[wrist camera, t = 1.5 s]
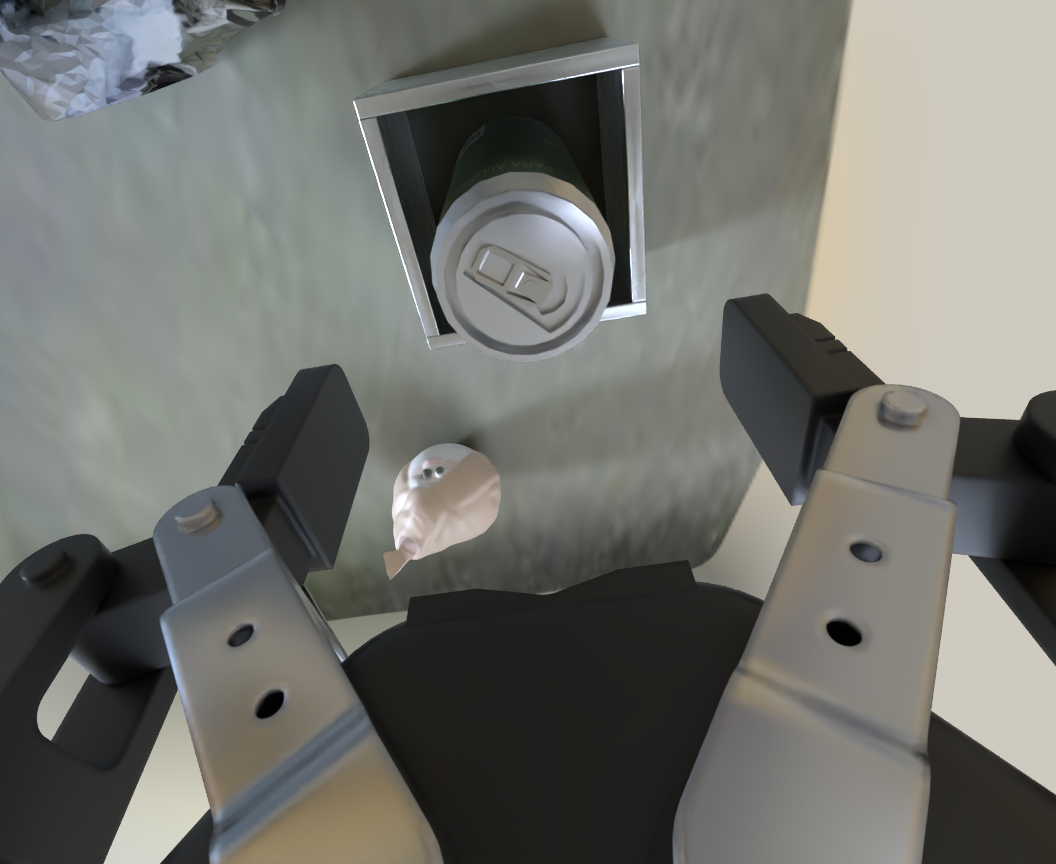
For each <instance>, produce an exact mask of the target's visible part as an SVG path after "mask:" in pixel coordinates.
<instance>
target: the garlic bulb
mask: <svg viewBox="0 0 1056 864" xmlns="http://www.w3.org/2000/svg"><path fill="white" fill-rule="evenodd" d="M393 493H394V501H393V506H392V516H393V521H394V529H393V532H394V538H395V547H396V550H395V551H390V552H386V553H383V555H384V560H385V566H386V571H387V575H389V579H390V580H391V579H392V578H393V577H394V576H395V575H396V574H397V573H398V572H399V571H400V570H401V569H402V568H403V566H404V565H405V564H406V563H407V562H408V561H409V560H410V559H420V558H423V557H425V556H427V555H430V554H433V553H436V552H439V551H442V550H444V549H446V548H447V547H449V546H451V545H453V544H456V543H460V542H463V541H467V540H470V539H472V538H475V537H477V536H478V535H480V534H482V533H484V532H485V531H486V530H487V529H488V528H489V527H490V526H491V524H492V523H493V522H494V521H495V519H496V517H497V514H498V509H499V504H500V498H501V485H500V476H499V472H498V470H497V469H496V468H495V466H494V465H493V464H492V463H491V461H490V460H489V459H488V458H487V457H486V456H485V455H484V454H483V453H481V452H478V451H474V450H473V449H471V448H469V447H466V446H463V445H460V444H454V443H444V444H438V445H434V446H431V447H429V448H427V449H425V450H424V451H422V452H421V453H420V454H418V455H417V456H416V457H415V458H414V459H412V460H411V461H409V462H408V463H407V464H406V465H405V466H404V467H403V468H402V470H401V471H400V473H399V475H398V477H397V479H396V482H395V485H394V489H393Z"/></svg>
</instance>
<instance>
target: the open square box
mask: <svg viewBox="0 0 1056 864" xmlns="http://www.w3.org/2000/svg"><path fill="white" fill-rule="evenodd" d="M638 65H640V44H639V43H637V42H632V41H626V40H621V39H615V38H610V37H605V38H600V39H595V40H590V41H585V42H579V43H574V44H569V45H564V46H559V47H554V48H549V49H544V50H539V51H534V52H529V53H524V54H519V55H514V56H509V57H504V58H499V59H494V60H489V61H484V62H479V63H474V64H469V65H464V66H459V67H454V68H449V69H444V70H439V71H434V72H429V73H424V74H419V75H414V76H409V77H404V78H399V79H394V80H389V81H385V82H383V83H381V84H379V85H378V86H376V87H374V88H372V89H371V90H369V91H367V92H365V93H364V94H362V95H360V96H358V97H357V98H355V99H353V103H354V106H355V110H356V113H357V116H358V118H359V119H360V121H359V123H360V126H361V129H362V132H363V136H364V139H365V142H366V145H367V149H368V152H369V155H370V158H371V161H372V165H373V168H374V171H375V174H376V178H377V181H378V184H379V187H380V190H381V194H382V197H383V200H384V203H385V207H386V210H387V213H388V216H389V219H390V223H391V226H392V229H393V232H394V236H395V239H396V242H397V245H398V248H399V252H400V255H401V258H402V261H403V265H404V268H405V271H406V274H407V277H408V281H409V284H410V287H411V290H412V294H413V297H414V300H415V303H416V306H417V310H418V313H419V316H420V319H421V323H422V326H423V329H424V332H425V335H426V337H427V342H428V345H429V348H430V349H437V348H443V347H449V346H455V345H461V344H467V342H465V341H464V340H463V339H462V338H461V337H460V335H459V334H458V333H457V332H456V331H455V330H454V328H453V327H452V326H451V325H450V324H449V323H448V321H447V319H446V317H445V314H444V312H443V310H442V307H441V305H440V302H439V300H438V298H437V293H436V291H435V289H434V286H433V283H432V270H431V258H430V255H431V251H432V247H433V243H434V239H435V235H436V231H437V228H436V224H435V220H434V216H433V213H432V209H431V205H430V201H429V197H428V193H427V190H426V186H425V182H424V178H423V174H422V170H421V167H420V163H419V159H418V155H417V151H416V147H415V143H414V140H413V136H412V132H411V128H410V124H409V120H408V117H407V113H406V111H409V110H414V109H419V108H424V107H429V106H434V105H440V104H445V103H450V102H455V101H460V100H465V99H470V98H475V97H480V96H486V95H491V94H496V93H501V92H506V91H511V90H516V89H521V88H526V87H532V86H537V85H542V84H547V83H552V82H557V81H562V80H567V79H572V78H577V77H583V76H588V75H593V74H596V79H597V93H598V108H599V122H600V137H601V151H602V166H603V180H604V194H605V209H606V223H607V225H608V227H609V229H610V233H611V238H612V244H613V249H614V254H615V265H614V273H613V280H612V287H611V294H610V300H609V302H608V304H607V306H606V308H605V310H604V312H603V314H602V317H601V319H600V321H605V320H611V319H617V318H623V317H629V316H635V315H641V314H646V313H647V301H646V298H647V297H646V260H645V222H644V185H643V147H642V110H641V73H640V66H638Z"/></svg>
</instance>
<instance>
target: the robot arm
mask: <svg viewBox="0 0 1056 864" xmlns="http://www.w3.org/2000/svg"><path fill="white" fill-rule="evenodd" d="M720 379H721V385H722V389H723V392H724V395H725V397H726V398H727V400H728V402H729V403H730V405H731V407H732V408H733V410H734V412H735V413H736V415H737V417H738V418H739V420H740V422H741V423H742V425H743V427H744V428H745V430H746V432H747V433H748V435H749V437H750V438H751V440H752V442H753V443H754V445H755V447H756V448H757V450H758V451H759V453H760V455H761V456H762V458H763V460H764V461H765V463H766V465H767V466H768V468H769V470H770V471H771V473H772V475H773V476H774V478H775V480H776V481H777V483H778V485H779V486H780V488H781V490H782V491H783V493H784V495H785V496H786V498H787V499H788V501H789V503H790V505H791V506H794V505H802V504H803V505H802V508H801V510H800V513H799V515H798V518H797V520H796V523H795V525H794V528H793V530H792V533H791V535H790V538H789V541H788V543H787V546H786V548H785V550H784V553H783V555H782V558H781V560H780V563H779V566H778V568H777V571H776V573H775V576H774V578H773V581H772V583H771V586H770V588H769V591H768V593H767V596H766V598H765V601H763V600H761V599H759V598H757V597H754V596H752V595H749V594H747V593H745V592H742V591H739V590H735V589H732V588H729V587H725V586H721V585H716V584H711V583H704V582H695V579H694V576H693V573H692V570H691V567H690V564H689V562H688V560H684V561H677V562H670V563H662V564H655V565H647V566H640V567H633V568H625V569H618V570H615V571H613V572H610V573H607V574H604V575H602V576H599V577H596V578H594V579H591V580H588V581H586V582H583V583H580V584H577V585H575V586H572V587H569V588H567V589H564V590H561V591H559V592H556V593H553V594H548V595H538V594H528V593H517V592H507V591H496V590H485V589H471V590H463V591H456V592H449V593H441V594H434V595H426V596H419V597H412V598H410V602H409V608H408V614H407V621H404V622H402V623H400V624H397V625H395V626H393V627H391V628H389V629H387V630H385V631H383V632H382V633H380V634H378V635H377V636H375V637H374V638H372V639H370V640H369V641H367V642H366V643H365V644H363V645H362V646H361V647H360V648H358V649H357V650H356V651H354V652H353V653H352V654H351V655H350V656H349V657H348V655H347V654H346V652H345V651H344V649H343V647H342V646H341V644H340V642H339V641H338V639H337V637H336V636H335V634H334V632H333V631H332V629H331V628H330V626H329V624H328V622H327V621H326V619H325V617H324V616H323V614H322V613H321V611H320V609H319V608H318V606H317V604H316V603H315V601H314V599H313V598H312V596H311V594H310V593H309V591H308V590H307V588H306V587H305V585H304V581H305V578H306V576H307V573H308V572H313V571H320V570H327V569H333V566H334V563H335V559H336V556H337V553H338V550H339V546H340V543H341V540H342V536H343V533H344V530H345V527H346V523H347V520H348V517H349V514H350V510H351V507H352V504H353V500H354V497H355V494H356V491H357V487H358V484H359V481H360V478H361V474H362V471H363V468H364V465H365V461H366V458H367V455H368V451H369V433H368V428H367V425H366V422H365V420H364V417H363V415H362V413H361V410H360V408H359V406H358V403H357V401H356V399H355V397H354V394H353V392H352V390H351V387H350V385H349V383H348V380H347V378H346V376H345V374H344V372H343V370H342V369H341V367H340V366H339V365H337V364H332V365H326V366H320V367H314V368H308V369H302V370H300V371H299V372H298V373H297V375H296V376H295V378H294V380H293V381H292V383H291V385H290V387H289V388H288V390H287V392H286V394H285V395H284V396H280V397H279V398H278V399H277V400H276V401H274V402H273V403H272V404H271V405H270V406H269V407H268V408H266V409H265V410H264V411H263V412H262V413H261V415H260V417H259V418H258V420H257V422H256V423H255V425H254V426H253V428H252V429H253V431H252V432H250V433H249V435H248V436H247V438H246V440H245V441H244V444H245V445H242V446H241V448H240V449H239V451H238V453H237V454H236V456H235V458H234V459H233V461H232V463H231V464H230V466H229V467H228V469H227V471H226V472H225V474H224V476H223V477H222V479H221V481H220V482H219V484H218V485H217V486H215V487H210V488H207V489H204V490H201V491H198V492H196V493H194V494H192V495H190V496H188V497H186V498H185V499H183V500H181V501H180V502H179V503H177V504H176V505H174V506H173V507H172V508H171V509H170V510H168V511H167V512H166V513H165V514H164V515H163V517H162V518H161V519H160V520H159V522H158V523H157V525H156V527H155V529H154V532H153V537H152V538H149V539H147V540H144V541H141V542H139V543H136V544H133V545H131V546H128V547H125V548H122V549H120V550H117V551H114V552H112V553H111V552H110V551H109V550H108V549H107V548H106V547H105V546H104V545H103V544H102V543H101V542H100V540H99V539H98V538H97V537H95V536H93V535H89V534H80V535H74V536H70V537H66V538H63V539H60V540H58V541H56V542H53V543H51V544H49V545H47V546H45V547H43V548H42V549H40V550H38V551H37V552H35V553H33V554H32V555H30V556H29V557H28V558H26V559H25V560H24V561H22V562H21V563H20V564H18V565H17V566H16V567H15V568H14V569H13V570H12V571H11V572H10V573H9V574H8V575H7V576H6V577H5V579H4V580H3V581H2V582H1V583H0V864H103V863H104V861H105V859H106V856H107V854H108V852H109V849H110V847H111V845H112V842H113V840H114V837H115V835H116V833H117V831H118V828H119V826H120V824H121V821H122V819H123V817H124V814H125V812H126V809H127V807H128V805H129V802H130V800H131V798H132V795H133V793H134V790H135V788H136V786H137V784H138V781H139V779H140V777H141V774H142V772H143V770H144V767H145V765H146V763H147V760H148V758H149V756H150V753H151V751H152V749H153V746H154V744H155V742H156V739H157V737H158V735H159V732H160V730H161V728H162V725H163V723H164V720H165V718H166V716H167V714H168V711H169V709H170V706H171V704H172V702H173V700H174V697H175V695H176V692H177V690H179V694H180V698H181V702H182V705H183V709H184V713H185V716H186V720H187V724H188V727H189V731H190V735H191V738H192V742H193V746H194V750H195V753H196V757H197V761H198V764H199V768H200V771H201V775H202V779H203V782H204V786H205V790H206V794H207V797H208V801H209V805H210V809H209V810H208V811H207V812H206V813H205V814H204V816H203V817H202V818H201V819H200V820H199V821H198V822H197V823H196V824H195V825H194V827H193V828H192V829H191V830H190V831H189V832H188V833H187V834H186V836H185V837H184V838H183V839H182V840H181V841H180V842H179V843H178V844H177V845H176V847H175V848H174V849H173V850H172V851H171V852H170V853H169V854H168V855H167V857H166V858H165V859H164V860H163V861H162V862H161V863H160V864H1056V795H1055V794H1054V793H1052V792H1051V791H1049V790H1048V789H1046V788H1045V787H1043V786H1042V785H1041V784H1039V783H1038V782H1036V781H1035V780H1033V779H1032V778H1030V777H1029V776H1027V775H1026V774H1024V773H1023V772H1021V771H1020V770H1018V769H1017V768H1015V767H1014V766H1012V765H1011V764H1009V763H1008V762H1006V761H1005V760H1003V759H1002V758H1000V757H999V756H997V755H996V754H994V753H993V752H992V751H990V750H988V749H987V748H986V747H984V746H983V745H981V744H980V743H978V742H977V741H975V740H974V739H972V738H971V737H969V736H968V735H966V734H965V733H963V732H962V731H960V730H959V729H957V728H956V727H954V726H953V725H951V724H950V723H948V722H947V721H945V720H944V719H942V718H941V717H939V716H938V715H937V714H935V713H934V712H932V711H931V708H932V700H933V692H934V685H935V678H936V670H937V662H938V655H939V648H940V640H941V633H942V625H943V617H944V610H945V603H946V595H947V588H948V580H949V573H950V565H951V558H952V553H954V554H962V555H968V556H969V557H970V558H971V560H972V561H973V562H974V563H975V564H976V566H977V567H978V568H979V570H980V571H981V572H982V573H983V575H984V576H985V577H986V578H987V580H988V581H989V582H990V584H991V585H992V586H993V587H994V589H995V590H996V591H997V592H998V594H999V595H1000V596H1001V597H1002V599H1003V600H1004V601H1005V602H1006V604H1007V605H1008V606H1009V608H1010V609H1011V610H1012V611H1013V613H1014V614H1015V615H1016V616H1017V617H1018V619H1019V620H1020V621H1021V623H1022V624H1023V625H1024V626H1025V628H1026V629H1027V630H1028V631H1029V633H1030V634H1031V635H1032V637H1033V638H1034V639H1035V640H1036V642H1037V643H1038V644H1039V646H1040V647H1041V648H1042V649H1043V651H1044V652H1045V653H1046V654H1047V656H1048V657H1049V658H1050V659H1051V661H1052V662H1053V663H1054V664H1055V666H1056V390H1055V391H1048V392H1044V393H1041V394H1039V395H1037V396H1035V397H1033V398H1032V399H1031V400H1030V401H1029V403H1028V405H1027V407H1026V409H1025V411H1024V413H1023V415H1022V417H1021V419H1020V420H1006V419H985V418H964V417H960V415H959V413H958V411H957V410H956V408H955V407H954V406H953V405H952V404H951V403H950V402H948V401H947V400H946V399H944V398H943V397H940V396H939V395H937V394H934V393H932V392H929V391H927V390H924V389H920V388H916V387H912V386H905V385H895V384H885V383H884V382H883V381H882V380H881V379H879V377H877V376H876V375H875V374H874V373H873V372H872V371H871V370H870V369H869V368H868V367H867V366H866V365H865V364H863V362H861V361H860V360H859V359H858V358H857V357H856V356H855V355H854V354H853V353H852V352H851V351H847V348H846V347H845V346H844V345H843V344H842V343H841V342H840V341H839V340H835V336H834V335H833V334H832V333H830V332H829V331H828V330H827V329H826V328H825V327H824V326H823V325H822V324H821V323H819V322H817V321H814V320H812V319H809V318H807V317H805V316H803V315H800V314H798V313H795V314H788V313H787V312H786V311H785V310H784V309H783V308H782V307H781V306H780V305H779V304H778V303H777V302H776V301H775V300H774V299H773V298H772V297H771V296H770V295H769V294H767V293H766V294H759V295H753V296H747V297H741V298H735V299H729V300H727V302H726V304H725V307H724V312H723V326H722V341H721V356H720ZM68 657H70V658H71V659H72V660H73V661H75V662H76V663H77V664H78V665H80V666H81V667H82V668H84V669H85V670H86V671H87V672H89V673H90V674H89V676H88V678H87V680H86V681H85V683H84V685H83V686H82V688H81V690H80V692H79V693H78V695H77V697H76V699H75V700H74V702H73V704H72V706H71V707H70V709H69V711H68V712H67V714H66V716H65V718H64V720H63V721H62V723H61V725H60V726H59V728H58V730H57V732H56V734H55V735H54V737H53V739H52V740H51V741H50V740H48V739H47V738H45V737H44V736H43V735H42V734H41V732H40V731H39V728H38V724H37V711H38V707H39V704H40V702H41V700H42V698H43V696H44V694H45V693H46V691H47V689H48V688H49V686H50V685H51V683H52V681H53V680H54V678H55V677H56V675H57V674H58V672H59V670H60V669H61V667H62V666H63V664H64V662H65V661H66V659H67V658H68Z"/></svg>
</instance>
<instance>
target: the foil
mask: <svg viewBox="0 0 1056 864" xmlns="http://www.w3.org/2000/svg"><path fill="white" fill-rule="evenodd" d="M277 2H278V10H279V12H276V13H273V12H275V9H276V4H275V3H274V0H0V71H1V72H2V74H3V75H4V76H5V77H6V78H7V79H8V80H9V82H10V83H11V84H12V85H13V86H14V87H15V89H16V90H17V91H18V92H19V93H20V94H21V95H22V97H23V98H24V99H25V100H26V101H27V102H28V104H29V105H30V106H31V107H32V108H33V109H34V110H35V112H36V113H37V114H38V115H39V116H40V117H41V119H44V120H49V121H57V120H61V119H66V118H70V117H74V116H78V115H81V114H84V113H87V112H91V111H94V110H97V109H100V108H103V107H106V106H110V105H113V104H116V103H119V102H122V101H125V100H129V99H132V98H135V97H138V96H141V95H144V94H148V93H150V92H153V91H156V90H158V89H161V88H163V87H166V86H169V85H171V84H174V83H176V82H179V81H182V80H185V79H187V78H189V77H192V76H194V75H196V74H198V73H200V72H202V71H204V70H205V69H207V68H209V67H211V66H213V64H214V61H215V58H216V55H217V54H218V53H219V52H220V51H221V50H222V49H223V48H224V47H225V46H226V45H227V43H228V42H229V41H230V40H231V39H232V38H233V37H234V36H235V35H236V34H237V33H238V32H239V31H240V30H242V29H244V28H247V27H249V26H250V25H252V24H254V23H256V22H257V21H259V20H261V19H263V18H265V17H266V16H268V15H270V14H273V16H274V17H276V16H278V15H279V14H280V13H281V12H282V10H283V9H284V7H285V2H286V0H277Z"/></svg>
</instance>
